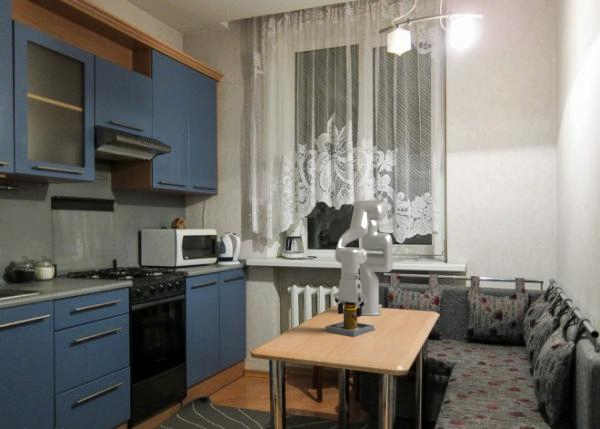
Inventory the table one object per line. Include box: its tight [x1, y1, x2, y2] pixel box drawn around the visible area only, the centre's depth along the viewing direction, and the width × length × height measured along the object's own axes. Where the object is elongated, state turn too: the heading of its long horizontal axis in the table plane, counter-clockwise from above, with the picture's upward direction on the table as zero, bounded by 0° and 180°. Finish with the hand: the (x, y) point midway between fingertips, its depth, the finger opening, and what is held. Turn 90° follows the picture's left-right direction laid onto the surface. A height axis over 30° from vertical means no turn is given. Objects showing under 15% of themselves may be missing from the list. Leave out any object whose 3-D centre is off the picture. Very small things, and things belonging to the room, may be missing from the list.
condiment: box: [337, 302, 358, 330], centre depth 221 cm, size 7×8×12 cm
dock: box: [323, 320, 376, 338], centre depth 220 cm, size 17×16×2 cm
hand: (349, 315), depth 220 cm, fingers open, 9 cm apart
